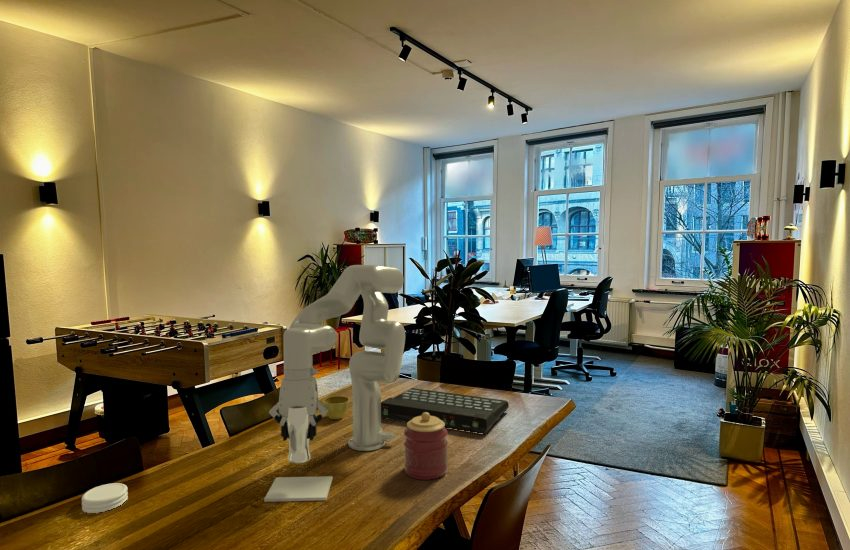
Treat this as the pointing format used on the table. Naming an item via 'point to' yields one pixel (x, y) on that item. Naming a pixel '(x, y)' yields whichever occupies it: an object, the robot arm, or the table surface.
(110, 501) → the white round disc stack
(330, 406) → the flower pot
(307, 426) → the beer glass
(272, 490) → the grey mat
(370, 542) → the table surface
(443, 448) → the canister
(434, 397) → the computer keyboard
